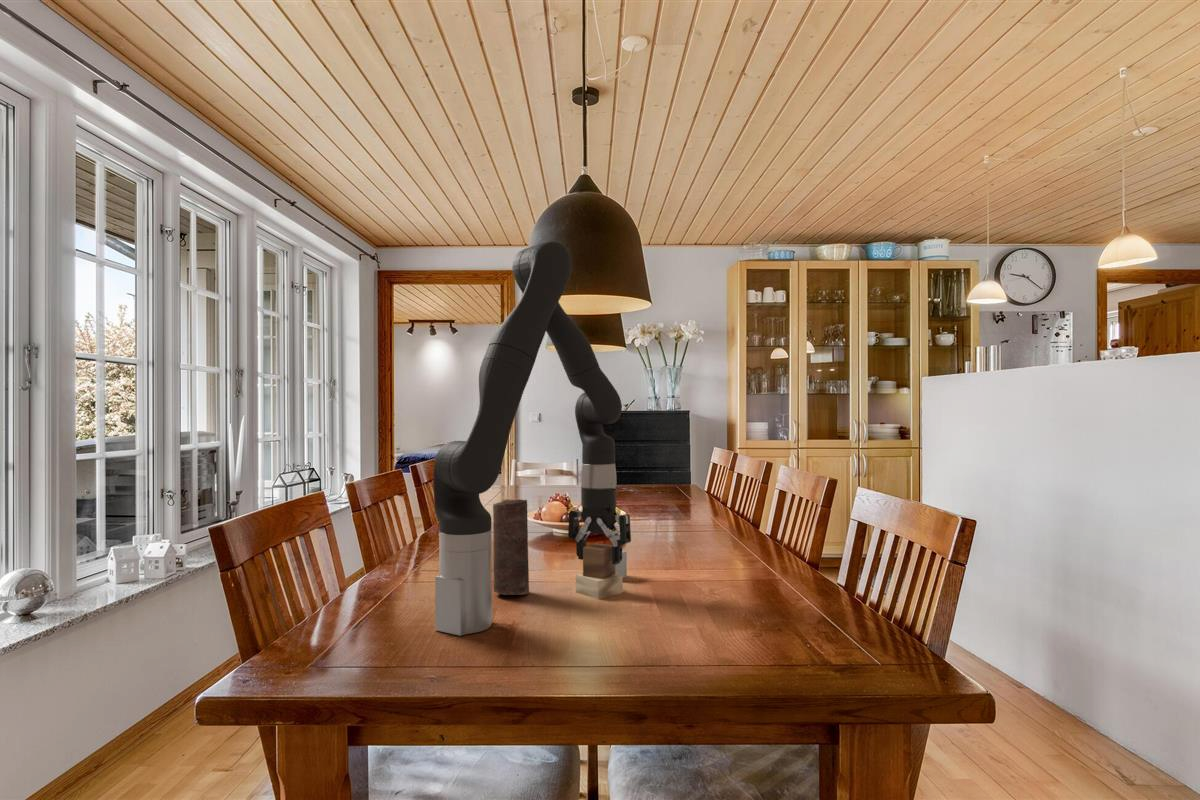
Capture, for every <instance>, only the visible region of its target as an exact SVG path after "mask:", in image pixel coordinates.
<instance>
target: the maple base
mask: <svg viewBox="0 0 1200 800" xmlns="http://www.w3.org/2000/svg"><path fill="white" fill-rule="evenodd" d="M575 593H576V594H579V593H580V594H579V595H582V594H583V596H585V597H589V596H590V597H589V598H592V597H593V599H595V598H596V599H595V600H601V599H605V598H609V597H612V596H616V595H620V594H623V579H622V575H620V574H616V573H615V574H614V575H612V576H609V577H607V578H605V579H600V578H593V577H586V576H583V572H582V573H578V574H575Z"/></svg>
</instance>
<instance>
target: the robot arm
mask: <svg viewBox="0 0 1200 800" xmlns="http://www.w3.org/2000/svg"><path fill="white" fill-rule="evenodd" d="M572 261H573V259H572V256H571V253H570V250H568V248H567V246H566V245H565V244H563V243H561V242H558V241H545V242H542V243H541V242H540V243H538V244H536V245H535V244H534V245H532V246H529V247H526V248H523V249H522V250H519V252H517V253H516V255H515V256H514V257H513V261H512V267H511V268H512V275H513V278H514V280H515V281H516V284H517V286H518V288H519V290H520V291H521V293H522V296H521V297H520V299H519V301H518V303H517V304H516V305H515V306H514V308H513V310H511V311H510V313H509V314H508V316H507V317H506V318H505V319H504V321H503V322H502V323H501V324H500V326H498V328H497V330H495V333H494V334H493V336H492V338H491V339H490V342H489V343H488V346H487V348H486V351H485V354H484V357H483V358H482V361H481V365H480V367H479V372H478V393H479V404H478V405H479V407H478V412H477V416H476V419H475V421H474V424H473V426H472V429H471V431H470V433H469V436H468V438H467V440H453V441H449V442H447V443H445V444H444V445H443V446H441V447H440V449H438V451H437V453H436V455H435V459H434V463H433V469H432V470H433V473H432V474H433V476H432V477H433V478H432V481H433V503H434V504H433V505H434V512H435V516H436V519H437V520H438V527H439V528H438V530H439V532H438V533H439V534H438V535H439V537H438V541H439V544H438V545H439V546H438V547H439V550H438V555H439V557H438V559H439V561H438V563H439V565H438V567H439V568H438V569H439V571H438V572H439V574H437V575H436V576H435V578H434V580H435V582H434V598H435V599H434V601H435V603H434V605H435V606H434V608H435V609H434V616H435V617H434V620H435V622H434V630H435V631H437V632H442V633H446V634H451V635H453V636H454V635H456V636H459V637H461V636H465V635H469V634H475V633H479V632H483V631H486V630H488V629H489V628H491V626H492V624H493V622H492V621H493V617H492V615H493V614H492V613H493V609H492V607H493V605H492V603H493V602H492V601H493V600H492V599H493V597H492V594H493V593H492V592H493V591H492V590H493V588H492V587H493V585H492V582H493V581H492V578H493V577H492V515H491V514H490V512H489V511H488V510H487V509H486V508H485V507H484V506H483V503H482V502H481V498H480V494H483V493H485V492H487V491H488V490H489V489H491V488H492V487H493V485H494V484H495V483H496V481H497V479H498V476H499V475H500V471H501V469H502V466H503V461H504V457H505V453H506V449H507V446H508V440H509V436H510V434H511V431H512V430H511V429H512V426H513V423H514V420H515V417H516V414H517V411H518V409H519V406H520V404H521V403H520V402H521V400H522V397H523V394H524V391H525V389H526V386H527V384H528V381H529V380H530V379H529V378H530V376H531V375H532V374H531V373H532V371H533V368H534V366H535V364H536V363H535V362H536V360H537V359H536V358H537V357H538V353H539V350H540V347H541V345H542V342H543V340H544V337H545V336H546V334H547V336H549V339H550V340H551V343H552V344H553V347H554V349H555V351H556V353H557V355H558V357H559V358H558V359H560V360H559V361H560V362H561V365H562V367H563V369H564V371H565V374H566V377H567V379H568V381H569V382H570V383H569V384H571V385H572V386H573V387H576V388H577V389H578V388H579V389H581V390H582V391H583V393H581V394H579V395H580V396H578V398H577V399H576V402H575V407H574V414H575V421H576V425H577V429H578V435H579V438H580V442H581V445H582V448H581V451H582V453H581V459H582V460H581V462H582V465H581V472H580V498H581V499H580V505H581V507H582V508H581V510H580V509H578V508H577V509H573V510H570V511H569V513H568V530H567V531H568V534H567V535H568V538H569V539H573V540H574V541H575V542H576V553H575V554H576V557H577V559H578V560H582V561H583V547H586V546H587V540H586V539H587V538H588V536H589V535H590V534H591V533H592V534H594V533H597V534H601V535H604V534H605V536H606V537H607V538H608V539H609V540H610V542H611V544H612V545H613V547H612V564H615V565H616V564H619V563H620V561H622V551H623V545H626V544H629V543H631V542H632V536H631V535H632V534H631V533H632V531H631V516H630V514H629V513H624V514H618V513H617V511H616V510H617V509H616V508H617V501H618V500H617V469H616V443H615V439H614V438H613V437H611V436H610V435H608V434H606V433H605V430H604V427H603V425H612V424H615V423H616V422H617V421H618V420H619V419H620V417H621V415H622V410H623V408H622V407H623V406H622V400H621V397H620V394H619V393H618V391H617V390H616V388H615V386H614V385H613V384H612V382H611V381H610V379H609V378H608V376H607V375H606V374H605V373H604V371H603V370H602V369H601V368H600V364H599V362H598V359H597V357H596V355H595V352H594V350H593V347H592V345H591V343H590V341H589V340H588V338H587V336H586V335H585V333H584V332H583V331H582V330H581V328H580V327H579V326H578V325H577V324H576V323H575V322H574V321H573V320H572V318H571V317H570V316H569V314H567V312H565V310H564V308H563V307H562V306H561V304H560V299H561V298H562V295H563V294H564V291H565V290H566V287H567V285H568V283H569V280H570V279H571V276H572V275H571V274H572V271H573V270H572V269H573V266H572V265H573V262H572ZM580 520H582V522H583V524H582V526H581V527H580V523H581V522H580ZM616 522H617V525H619V529H618V527H617V526H616Z"/></svg>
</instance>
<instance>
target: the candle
mask: <svg viewBox="0 0 1200 800" xmlns="http://www.w3.org/2000/svg"><path fill="white" fill-rule="evenodd" d="M492 511H493V513H492V515H493V521H492V522H493V523H492V524H493V526H492V528H493V529H492V530H493V532H492V533H493V592H495V593H496V594H499V595H503V596H513V595H516V596H517V595H519V596H527V595H529V593H530V581H529V580H530V579H529V578H530V575H529V574H530V571H529V570H530V569H529V568H530V567H529V535H528V534H529V532H528V531H529V530H528V526H529V525H528V520H529V519H528V500H527V499H501V501H500V502H497V503H493V505H492Z"/></svg>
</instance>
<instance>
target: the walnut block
mask: <svg viewBox="0 0 1200 800" xmlns="http://www.w3.org/2000/svg"><path fill="white" fill-rule="evenodd" d="M613 546H614V545H613V544H612V545H611V544H603V543H593V544H590V545H586V547H583V560H582V573H583V576H586V577H593V578H600V579H605V578H607V577H609V576H612V575H614V574H615V564H612V547H613Z"/></svg>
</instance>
